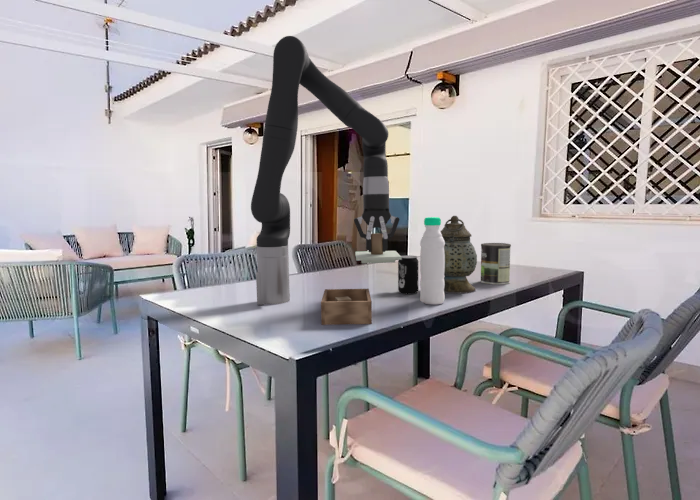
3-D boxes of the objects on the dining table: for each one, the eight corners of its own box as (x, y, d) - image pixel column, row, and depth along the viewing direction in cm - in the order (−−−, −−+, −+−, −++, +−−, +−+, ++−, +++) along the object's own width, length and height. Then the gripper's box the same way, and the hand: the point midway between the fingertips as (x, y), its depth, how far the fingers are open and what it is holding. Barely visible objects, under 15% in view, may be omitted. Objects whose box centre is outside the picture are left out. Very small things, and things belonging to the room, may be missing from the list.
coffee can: (482, 284, 152) (483, 245, 150) (478, 279, 162) (478, 242, 160) (513, 285, 150) (514, 245, 149) (506, 280, 160) (507, 242, 159)
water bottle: (439, 306, 120) (439, 217, 118) (416, 303, 124) (416, 217, 122) (447, 301, 126) (448, 216, 124) (425, 298, 130) (425, 217, 128)
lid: (356, 264, 118) (355, 236, 117) (355, 257, 134) (354, 232, 133) (401, 263, 118) (401, 235, 117) (395, 256, 134) (395, 231, 133)
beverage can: (417, 294, 136) (417, 257, 135) (397, 294, 138) (397, 257, 136) (418, 290, 143) (418, 255, 142) (399, 290, 144) (399, 255, 143)
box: (321, 327, 101) (320, 302, 101) (325, 310, 117) (324, 289, 117) (371, 326, 101) (371, 301, 101) (368, 310, 117) (368, 288, 117)
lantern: (485, 290, 141) (486, 215, 139) (456, 296, 133) (456, 216, 131) (453, 284, 153) (453, 214, 150) (424, 289, 145) (424, 215, 142)
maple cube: (338, 313, 112) (338, 300, 111) (335, 310, 115) (334, 297, 115) (351, 312, 113) (351, 299, 112) (348, 309, 116) (347, 296, 116)
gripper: (351, 193, 120) (353, 253, 122) (401, 192, 120) (402, 252, 122) (351, 194, 128) (352, 251, 129) (398, 193, 128) (399, 250, 129)
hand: (377, 251), depth 126 cm, fingers closed on lid, 3 cm apart
